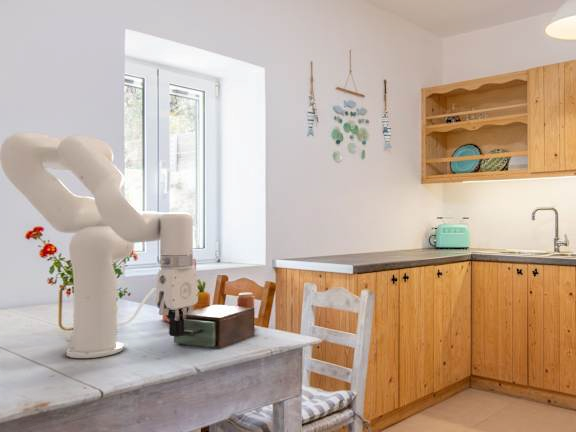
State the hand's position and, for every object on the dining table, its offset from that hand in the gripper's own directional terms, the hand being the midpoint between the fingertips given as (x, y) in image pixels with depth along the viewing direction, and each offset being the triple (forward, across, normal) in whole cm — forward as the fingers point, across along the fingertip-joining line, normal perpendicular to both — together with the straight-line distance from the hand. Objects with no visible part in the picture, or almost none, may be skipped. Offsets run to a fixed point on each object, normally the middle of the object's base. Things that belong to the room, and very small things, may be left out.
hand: (176, 335), depth 131 cm
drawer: (+4, +11, 0) cm, 11 cm away
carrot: (+5, +25, +13) cm, 29 cm away
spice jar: (+5, +29, 0) cm, 29 cm away
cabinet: (+5, +16, 0) cm, 16 cm away
